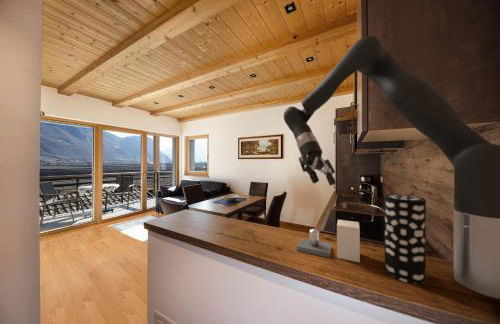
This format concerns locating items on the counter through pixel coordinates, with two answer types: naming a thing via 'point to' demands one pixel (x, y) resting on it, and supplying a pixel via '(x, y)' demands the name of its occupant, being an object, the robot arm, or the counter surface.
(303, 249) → the base plate
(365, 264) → the counter surface
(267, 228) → the counter surface
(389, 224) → the white-spotted black cylinder
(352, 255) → the block
